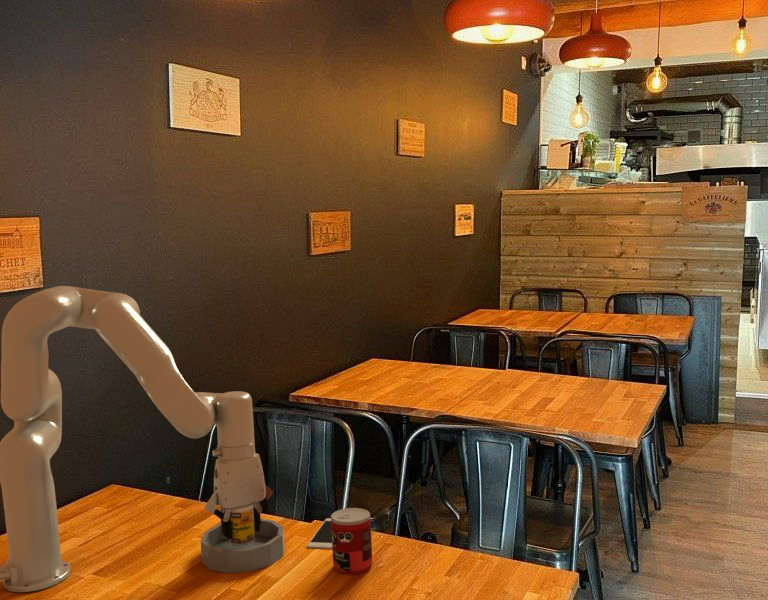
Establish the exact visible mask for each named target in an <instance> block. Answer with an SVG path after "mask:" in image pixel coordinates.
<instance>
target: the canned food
mask: <svg viewBox="0 0 768 600" xmlns="http://www.w3.org/2000/svg"><path fill="white" fill-rule="evenodd" d="M330 518H331V533H332V549H331V550H332V564H333V568H334V570H335V571H336V572H337V573H339V574H340V575H341V574H342V575H345V576H346V575H348V576H352V575H353V576H354V575H360V574H363V573H365V572H368V571H369V570H370V569H371V568H372V564H373V545H372V525H371V522H372V521H371V512H370V511H368V510H367V509H364V508H361V507H360V508H358V507H346V508H342V509H338V510H335V511H334V512H333V513H331V516H330Z"/></svg>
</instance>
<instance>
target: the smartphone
mask: <svg viewBox="0 0 768 600" xmlns="http://www.w3.org/2000/svg"><path fill="white" fill-rule="evenodd" d="M306 548H307V549H320V550H332V533H331V517H330V518H328V517H327V518H325V520H324V521H323V522H322V524H321V525H320V526H319V528H318V529H317V531H316V532H315V533H314V535H313V536H312V538H311V539H310V540H309V541H308V542H307V545H306Z"/></svg>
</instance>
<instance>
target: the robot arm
mask: <svg viewBox="0 0 768 600" xmlns="http://www.w3.org/2000/svg"><path fill="white" fill-rule="evenodd" d="M67 327H73V328H80V329H89V330H95V332H96V333H97V334H98V335H99V337H101V339H103V341H104V342H105V343H106V344H107V345H108V346H109V347H110V348H111V350H112V351H113V352H114V353H115V354H116V355H117V356H118V358H120V361H122V362H123V363H124V365H126V367H127V368H128V369H129V370H130V371H131V372H132V373H133V374H134V375H135V377H136V379H137V381H138V382H139V385H140V386H141V387H142V388H143V390H144V391H145V392H146V394H147V395H148V397H149V398H150V400H151V401H152V403H153V404H154V405H155V406H156V408H157V409H158V410H159V412H160V413H161V414H162V415H163V416H164V418H166V420H167V421H168V422H169V423H170V424H171V425H172V426H173V427H174V429H176V430H177V432H179V434H181V435H182V436H185V437H186V438H190V439H200V438H202V437H205V436H206V435H208V434H209V432H211V430H212V428H213V427H214V426H216V428H217V429H216V430H217V431H216V432H217V433H216V434H217V445H216V447H217V448H215V449H214V450H212V451H211V453H212V456H213V457H214V458H215V457H217V458H216V460H215V465H214V473H213V474H214V475H213V493H212V494H211V496H210V498H209V499H208V501H207V502H206V503H205V505H204V509H206V510H207V511H208V512H209V513H211V514H213V515H214V516H216V517H217V518H219V519H220V524H221V530H222V534H223V535H224V536H225V537H226V538H227V539H229V540H230V539H232V523H231V521H230V520H229V516H230V512H231V509H233V508H237V507H241V506H245V505H249V504H253V506H254V526H255V531H257V532H258V531H260V527H259V526H260V525H261V519H262V518H261V513H262V512H263V508H264V507H265V506H266V504H267V502H268V500H269V499H270V498H271V497H272V495H273V494H274V491H273V489H272V488H270V487H269V486H268V485H267V484H266V482H265V475H264V470H263V465H262V461H261V457H260V454H259V453H256V447H255V445H256V444H255V443H256V442H255V429H254V427H255V425H254V413H253V412H254V411H253V408H254V407H253V399H252V396H251V394H250V393H248V392H247V391H246V392H245V391H238V390H235V391H226V392H224V393H220V392H218V393H217V392H215V393H214V392H207V391H205V392H204V391H199V392H195V391H194V390H193V389H192V388H191V386H190V385H189V384H188V383H187V382H186V380H185V379H184V377H183V375H182V374H181V372H180V371H179V369H178V367H177V364H176V362H175V358H174V355H173V354H172V351H171V350H170V348H169V347H168V346H167V344H166V343H165V342H164V341H163V340H162V339H161V337H160V336H159V335H158V334H157V333H156V332H155V330H153V328H152V327H151V325H149V324H148V323H147V322H146V320H145V319H144V318H143V317H142V316H141V311H140V307H139V304H138V303H137V301H136V300H135V299H134V298H133V297H131V296H130V295H127V294H126V293H120V292H112V291H105V290H104V291H103V290H96V289H90V288H85V287H84V288H83V287H78V286H70V285H69V286H68V285H58V286H53V287H51V288H46V289H43V290H41V291H37V292H35V293H33V294H30V295H28V296H26V297H24V298H22V299H21V300H19V301H18V302H16V304H14V305H13V307H12V308H11V309H10V310H9V311H8V313H7V314H6V316H5V318H4V320H3V323H2V328H1V360H0V361H1V362H0V405H1V408H2V411H3V413H4V414H5V415H6V416H7V417H8V418H9V419H11V420H12V421H13V422H14V425H13V428H12V429H11V430H9V431H8V432H7V434H6V435H4V437H3V438H2V439H1V440H0V487H1V494H2V501H3V502H2V503H3V510H4V518H5V528H6V529H5V530H6V540H7V549H8V550H7V551H8V558H6V559H5V563H4V564H1V565H0V566H1V567H0V581H2V586H3V588H4V590H6V591H9V592H13V593H28V592H35V591H40V590H43V589H46V588H47V589H48V588H50V587H53V586H56V585H57V584H59V583H61V582H62V581H64V580H65V579H67V578H68V576H69V575H70V574H71V565H70V563H69V562H67V561H65V560H62V554H61V551H62V550H61V542H60V530H59V519H58V508H57V500H56V497H57V496H56V490H55V489H56V488H55V483H54V478H53V477H54V476H53V474H52V468H51V463H50V462H51V459H52V457H53V456H54V454H55V453H56V452H57V451H58V449H59V447H60V444H61V442H62V433H63V431H62V430H63V423H62V422H63V418H62V417H63V415H62V414H63V409H62V408H63V391H62V386H61V385H62V384H61V381H60V380H59V377H58V376H57V374H56V373H55V372H54V371H53V370H52V369H50V368H49V347H48V346H49V345H48V338H49V336H50V335H51V334H53V333H55V332H57V331H58V332H59V331H60V330H63V329H66V328H67ZM215 505H219V506H220V507H219V509H218V508H217V507H215Z"/></svg>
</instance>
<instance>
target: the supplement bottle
mask: <svg viewBox="0 0 768 600" xmlns="http://www.w3.org/2000/svg"><path fill="white" fill-rule="evenodd" d="M229 520H230V521H231V523H232V539H230V540H229V542H230V544H232V545H234V546H245V545H248V544H250V543H252V542H253V541H254V540H255V526H254V506H253V504H249V505H245V506H241V507H237V508H233V509H231V512H230V516H229Z"/></svg>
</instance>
